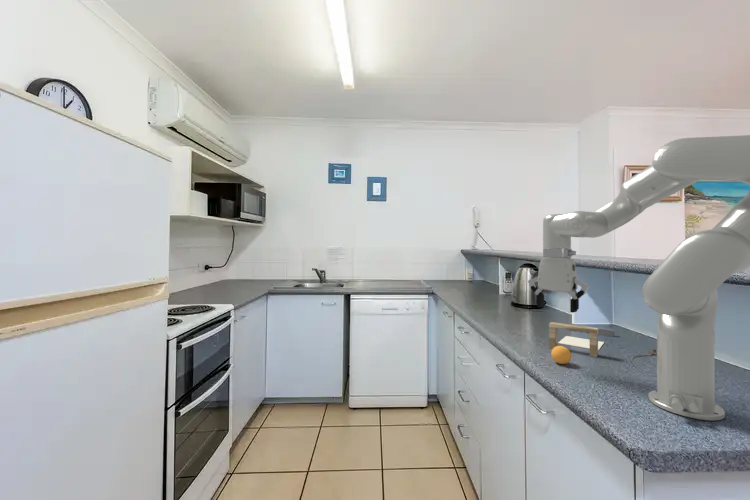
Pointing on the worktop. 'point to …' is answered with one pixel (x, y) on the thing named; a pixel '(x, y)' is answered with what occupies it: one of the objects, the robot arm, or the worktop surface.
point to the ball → (561, 354)
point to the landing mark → (578, 342)
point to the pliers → (651, 352)
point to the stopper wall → (600, 331)
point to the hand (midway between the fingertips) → (556, 309)
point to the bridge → (592, 331)
